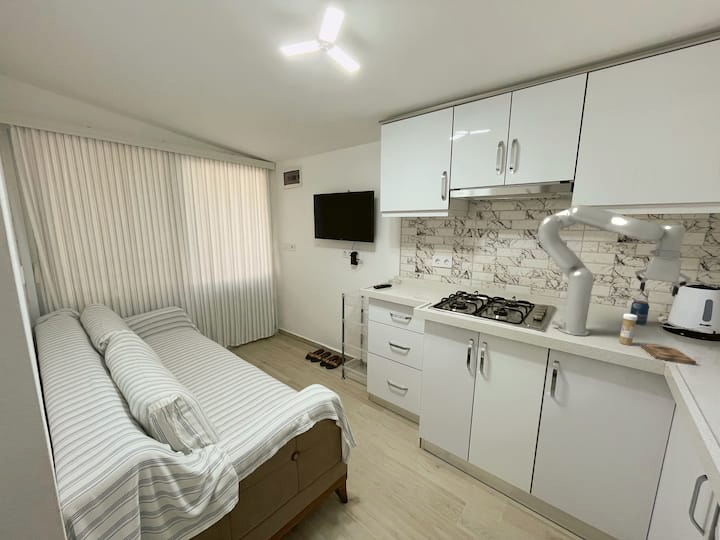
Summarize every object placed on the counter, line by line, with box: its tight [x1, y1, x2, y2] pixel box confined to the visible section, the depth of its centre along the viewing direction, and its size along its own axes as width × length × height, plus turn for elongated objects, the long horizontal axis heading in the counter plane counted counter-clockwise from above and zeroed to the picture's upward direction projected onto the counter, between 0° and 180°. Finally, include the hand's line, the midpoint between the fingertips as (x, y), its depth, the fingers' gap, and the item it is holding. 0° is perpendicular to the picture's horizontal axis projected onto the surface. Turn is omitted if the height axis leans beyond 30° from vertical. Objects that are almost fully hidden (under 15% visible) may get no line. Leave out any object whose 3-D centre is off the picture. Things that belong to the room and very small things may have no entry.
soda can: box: [629, 300, 650, 326], centre depth 162 cm, size 7×7×12 cm
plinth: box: [639, 344, 697, 366], centre depth 123 cm, size 12×12×2 cm
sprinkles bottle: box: [618, 313, 637, 346], centre depth 134 cm, size 5×5×13 cm
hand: (657, 293), depth 130 cm, fingers open, 9 cm apart
